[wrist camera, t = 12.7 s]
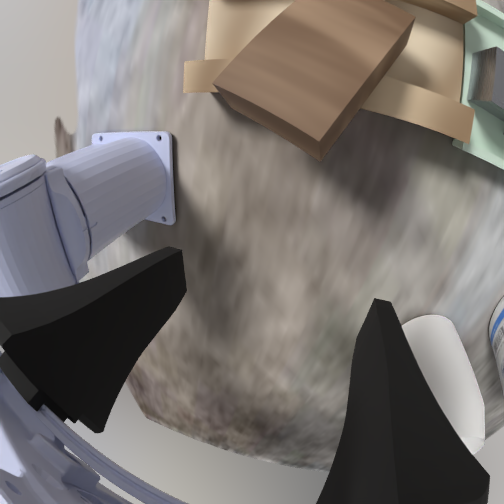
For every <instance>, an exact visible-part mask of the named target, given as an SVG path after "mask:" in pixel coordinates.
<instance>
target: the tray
mask: <svg viewBox="0 0 504 504" xmlns="http://www.w3.org/2000/svg"><path fill="white" fill-rule="evenodd" d="M476 6H477V17H475V18H473V19H471V20H470V21H468V22H466V23H465V24H463V71H462V85H461V95H460V103H462V104H464V105H466V106H468V107H470V108H472V109H474V110H475V113H474V120H473V126H472V131H471V137H470V142H469V144H467V143H465V142H462V141H460V140H458V139H455V138H453V143H452V145H453V146H455V147H457V148H459V149H461V150H463V151H466V152H468V153H470V154H472V155H475V156H477V157H479V158H481V159H483V160H485V161H487V162H490V163H492V164H494V165H496V166H497V167H499V168H501V169H503V170H504V135H503V133H504V122H503V121H502V120H500V119H499V118H497V117H496V116H494V115H492V114H491V113H489V112H488V111H486V110H484V109H483V108H481V107H479V106H477V105H476V104H474V103H472V102H470V101H468V100H467V94H468V88H469V81H470V73H471V64H472V53H475V52H478V51H482V50H485V49H489V48H492V47H496V46H497V47H499V48H500V49H502V50H503V51H504V14H503V13H502V12H500V11H499V10H497V9H495V8H494V7H492V6H490V5H488V4H487V3H485V2H483V1H481V0H476Z"/></svg>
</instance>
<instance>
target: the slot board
mask: <svg viewBox="0 0 504 504" xmlns="http://www.w3.org/2000/svg"><path fill="white" fill-rule="evenodd" d="M294 1H295V0H210V2H209V12H208V23H207V35H206V48H205V60H197V61H186V62H185V64H184V86H183V93H193V92H219V91H218V90H217V89H216V88H215V86H214V85H213V84H212V83H213V82H214V80H215V79H216V78H217V77H218V76H219V75H220V73H221V72H222V71H223V70H224V69H225V68H226V67H227V66H228V64H229V63H230V62H231V61H232V60H233V59H234V58H235V57H236V56H237V55H238V54H239V53H240V52H241V51H242V49H243V48H244V47H245V46H246V45H247V44H248V43H249V42H250V41H251V40H252V39H253V38H254V37H255V36H256V35H257V34H258V33H259V32H261V31H262V30H263V29H264V28H265V27H266V26H267V25H268V24H269V23H270V22H271V21H272V20H273V19H274V18H276V17H277V16H278V15H279V14H280V13H281V12H282V11H284V10H285V9H286V8H287V7H288V6H289V5H291V4H292V3H293V2H294ZM384 1H386V2H388V3H390V4H392V5H394V6H396V7H398V8H400V9H402V10H404V11H406V12H408V13H410V14H412V15H414V16H415V17H416V18H415V21H414V24H413V27H412V31H411V34H410V37H409V40H408V43H407V46H406V47H405V48H404V50H403V51H402V52H401V54H400V55H399V56H398V58H397V59H396V60H395V62H394V63H393V64H392V66H391V67H390V69H389V70H388V71H387V73H386V74H385V75H384V77H383V78H382V79H381V81H380V82H379V83H378V85H377V86H376V88H375V89H374V90H373V92H372V93H371V94H370V96H369V97H368V98H367V100H366V101H365V102H364V104H363V105H362V106H361V108H360V109H364V110H368V111H372V112H376V113H380V114H384V115H388V116H391V117H395V118H398V119H401V120H405V121H408V122H411V123H414V124H417V125H420V126H423V127H426V128H429V129H432V130H434V131H437V132H440V133H442V134H445V135H448V136H450V137H453V138H455V139H458V140H460V141H462V142H465V143H467V144H469V142H470V137H471V131H472V126H473V120H474V113H475V110H474V109H472V108H470V107H468V106H466V105H464V104H462V103H460V95H461V85H462V71H463V24H465V23H466V22H468V21H470V20H471V19H473V18H475V17H477V6H476V0H384Z"/></svg>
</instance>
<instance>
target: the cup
mask: <svg viewBox="0 0 504 504" xmlns="http://www.w3.org/2000/svg"><path fill="white" fill-rule="evenodd" d="M401 327H402V329H403V331H404V334H405V336H406V338H407V341H408V343H409V345H410V347H411V350H412V352H413V354H414V357H415V359H416V361H417V363H418V365H419V367H420V369H421V371H422V374H423V376H424V378H425V380H426V382H427V384H428V386H429V387H430V389H431V391H432V393H433V395H434V396H435V398H436V400H437V402H438V404H439V406H440V407H441V409H442V411H443V412H444V414H445V415H446V417H447V419H448V420H449V422H450V423H451V425H452V427H453V428H454V430H455V431H456V433H457V434H458V436H459V437H460V439H461V440H462V441H463V443H464V444H465V445H466V447H467V448H468V449H469V451H470V452H471V454H472V455H473V454H475V453H476V452H478V451H479V450H480V449H481V448H482V447H483V446H484V444H485V420H484V416H485V413H484V402H483V399H482V395H481V392H480V389H479V386H478V383H477V380H476V377H475V375H474V372H473V369H472V367H471V364H470V361H469V359H468V356H467V354H466V351H465V349H464V347H463V344H462V342H461V340H460V337H459V335H458V333H457V331H456V329H455V327H454V324H453V323H452V322H451V321H450V320H449V319H448V318H446V317H444V316H440V315H425V316H420V317H417V318H414V319H412V320H410V321H408V322H407V323H405V324H404V325H402V326H401Z"/></svg>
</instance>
